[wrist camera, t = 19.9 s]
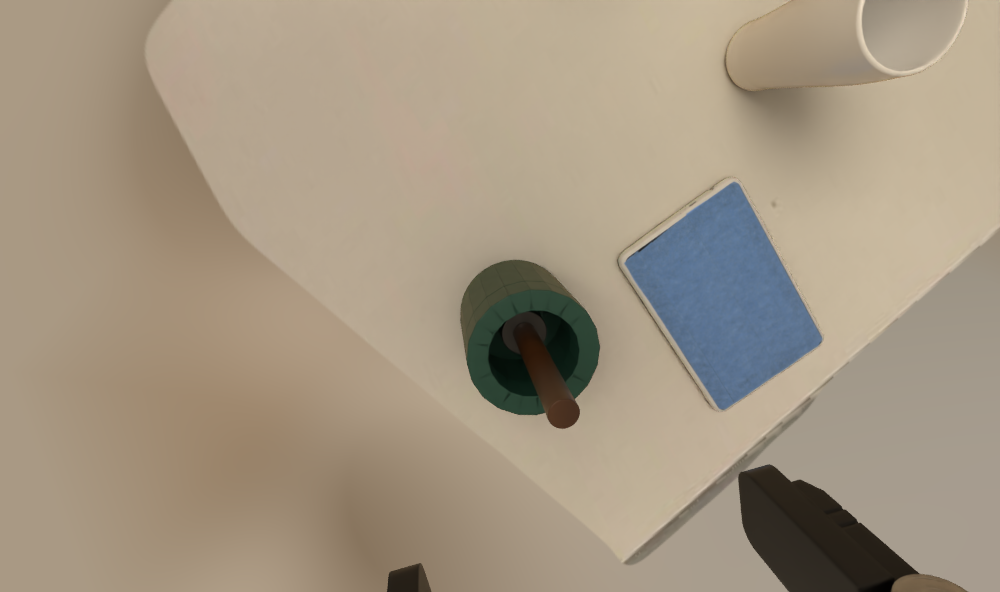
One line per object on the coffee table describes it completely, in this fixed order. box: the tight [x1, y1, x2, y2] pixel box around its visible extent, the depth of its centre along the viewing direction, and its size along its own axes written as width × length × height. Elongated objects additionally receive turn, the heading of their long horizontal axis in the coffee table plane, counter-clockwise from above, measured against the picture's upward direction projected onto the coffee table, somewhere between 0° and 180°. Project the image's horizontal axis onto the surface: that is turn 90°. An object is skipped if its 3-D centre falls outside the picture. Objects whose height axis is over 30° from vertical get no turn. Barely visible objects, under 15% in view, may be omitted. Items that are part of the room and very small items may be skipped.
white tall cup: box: [726, 0, 969, 91], centre depth 35 cm, size 7×7×15 cm
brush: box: [499, 311, 580, 429], centre depth 37 cm, size 4×4×18 cm
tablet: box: [618, 177, 824, 412], centre depth 47 cm, size 19×13×1 cm, turn 36°
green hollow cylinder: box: [460, 260, 600, 415], centre depth 41 cm, size 9×9×10 cm
